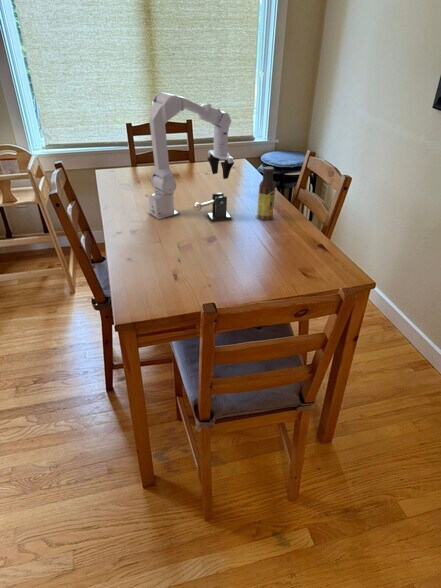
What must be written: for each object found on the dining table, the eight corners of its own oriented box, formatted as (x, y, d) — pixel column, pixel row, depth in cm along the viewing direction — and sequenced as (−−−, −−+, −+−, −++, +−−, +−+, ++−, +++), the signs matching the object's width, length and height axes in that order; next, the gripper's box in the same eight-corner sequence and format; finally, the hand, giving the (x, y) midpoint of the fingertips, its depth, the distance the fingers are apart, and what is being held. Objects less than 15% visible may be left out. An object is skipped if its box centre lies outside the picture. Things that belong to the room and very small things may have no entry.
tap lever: (195, 212, 156) (194, 205, 155) (193, 209, 159) (192, 202, 157) (224, 203, 158) (223, 196, 156) (222, 200, 160) (221, 193, 159)
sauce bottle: (271, 221, 160) (276, 171, 149) (256, 220, 161) (259, 170, 150) (273, 215, 165) (277, 166, 154) (258, 213, 166) (261, 164, 155)
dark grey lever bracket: (211, 221, 159) (211, 199, 154) (207, 215, 164) (207, 193, 158) (231, 219, 161) (231, 197, 156) (226, 213, 166) (226, 191, 160)
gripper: (239, 145, 164) (238, 178, 171) (217, 138, 173) (217, 170, 181) (225, 148, 160) (225, 182, 168) (204, 140, 169) (204, 172, 177)
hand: (220, 176), depth 174 cm, fingers open, 7 cm apart
